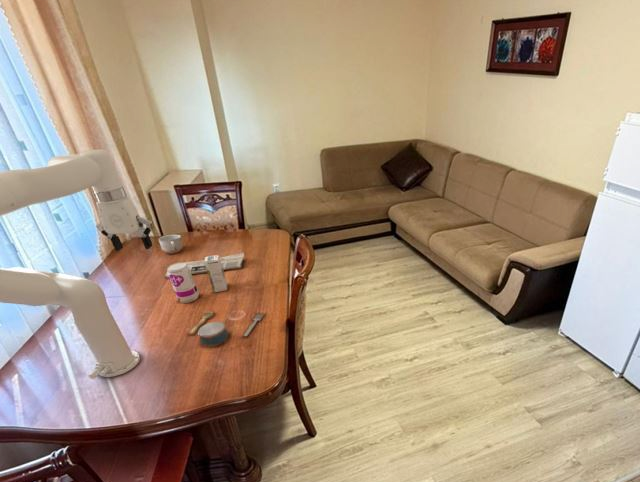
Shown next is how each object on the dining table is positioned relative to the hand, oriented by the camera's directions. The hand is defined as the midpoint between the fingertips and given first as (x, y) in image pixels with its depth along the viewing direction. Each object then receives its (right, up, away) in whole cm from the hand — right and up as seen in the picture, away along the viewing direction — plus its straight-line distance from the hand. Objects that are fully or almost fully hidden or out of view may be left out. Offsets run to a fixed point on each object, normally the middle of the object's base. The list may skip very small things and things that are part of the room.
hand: (134, 248), depth 125 cm
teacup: (-29, +14, +81) cm, 88 cm away
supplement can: (0, -14, +38) cm, 40 cm away
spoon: (+12, -24, +21) cm, 34 cm away
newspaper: (-3, +3, +62) cm, 62 cm away
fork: (+33, -25, +18) cm, 45 cm away
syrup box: (+11, -9, +44) cm, 46 cm away
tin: (+21, -30, +12) cm, 39 cm away
